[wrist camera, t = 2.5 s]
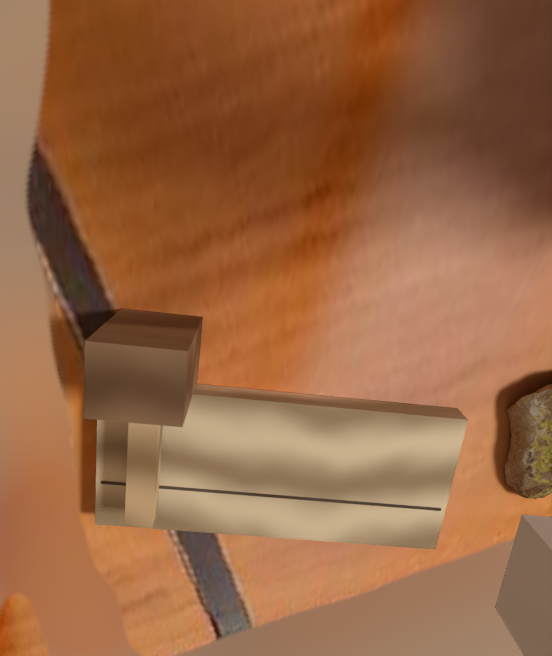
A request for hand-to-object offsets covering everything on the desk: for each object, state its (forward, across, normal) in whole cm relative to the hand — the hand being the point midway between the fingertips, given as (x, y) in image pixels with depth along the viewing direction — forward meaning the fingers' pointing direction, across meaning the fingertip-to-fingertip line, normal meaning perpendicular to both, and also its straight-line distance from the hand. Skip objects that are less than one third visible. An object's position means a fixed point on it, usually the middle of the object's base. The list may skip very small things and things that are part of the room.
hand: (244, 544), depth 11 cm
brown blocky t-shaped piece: (+26, -6, -9) cm, 28 cm away
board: (+26, +4, -13) cm, 29 cm away
